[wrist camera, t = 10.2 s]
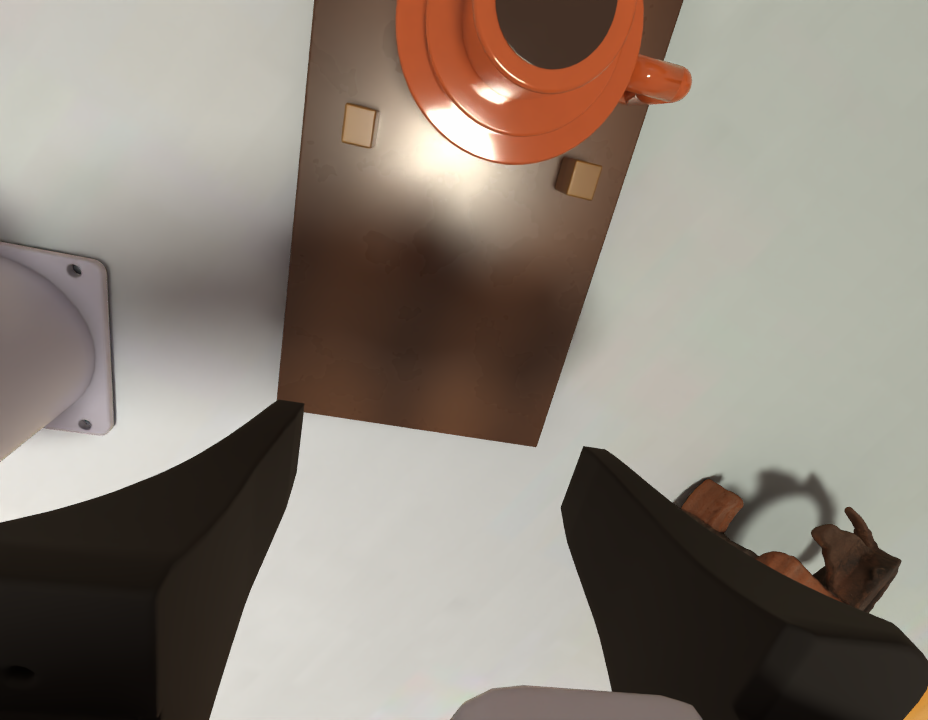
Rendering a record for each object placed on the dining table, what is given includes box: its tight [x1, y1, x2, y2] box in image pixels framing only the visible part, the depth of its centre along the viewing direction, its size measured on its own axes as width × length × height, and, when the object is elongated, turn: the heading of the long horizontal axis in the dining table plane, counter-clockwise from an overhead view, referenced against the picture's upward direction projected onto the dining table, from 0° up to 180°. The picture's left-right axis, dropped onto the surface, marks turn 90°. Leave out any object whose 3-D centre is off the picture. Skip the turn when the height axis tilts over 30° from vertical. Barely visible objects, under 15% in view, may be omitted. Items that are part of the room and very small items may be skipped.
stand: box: [277, 0, 683, 447], centre depth 19 cm, size 12×20×3 cm, turn 167°
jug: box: [395, 0, 692, 165], centre depth 14 cm, size 6×8×10 cm
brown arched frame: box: [681, 479, 901, 613], centre depth 27 cm, size 12×10×8 cm
